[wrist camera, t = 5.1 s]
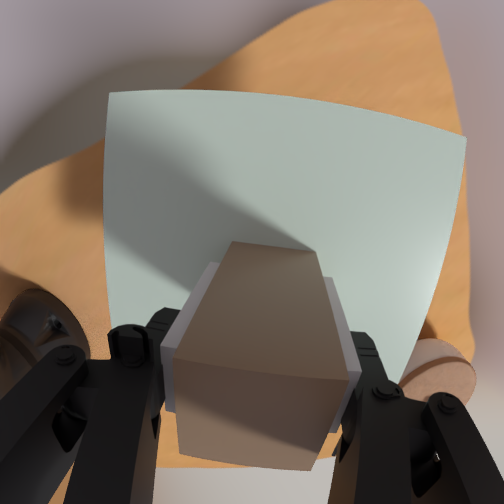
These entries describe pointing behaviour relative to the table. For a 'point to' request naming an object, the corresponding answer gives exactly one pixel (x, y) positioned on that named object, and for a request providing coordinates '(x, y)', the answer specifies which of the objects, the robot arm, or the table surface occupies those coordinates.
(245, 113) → the lid
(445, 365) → the lidded jar
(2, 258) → the table surface
